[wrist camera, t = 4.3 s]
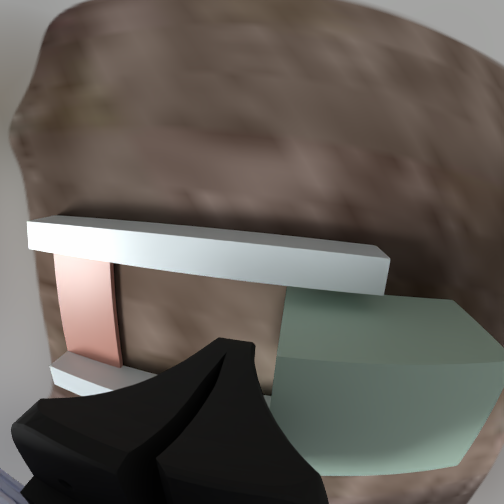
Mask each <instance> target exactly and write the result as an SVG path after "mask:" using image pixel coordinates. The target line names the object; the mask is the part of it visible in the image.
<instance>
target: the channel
mask: <svg viewBox="0 0 504 504" xmlns="http://www.w3.org/2000/svg"><path fill="white" fill-rule="evenodd" d="M27 229H28V230H27V231H28V245H29V249H33V250H38V251H44V252H50V253H54V262H55V273H56V282H57V290H58V298H59V305H60V311H61V318H62V323H63V329H64V334H65V339H66V344H67V349H68V351H67V352H66V353H65V354H63V355H62V356H61V357H59V358H58V359H57V360H56V361H54V362H53V363H52V364H51V365H49V366H50V370H51V373H52V377H53V380H54V384H56V385H58V386H60V387H62V388H64V389H67V390H69V391H71V392H74V393H76V394H78V395H81V396H88V395H95V394H100V393H105V392H110V391H113V390H117V389H120V388H124V387H127V386H131V385H134V384H137V383H140V382H142V381H145V380H147V379H150V378H152V377H154V376H157V374H153V373H149V372H145V371H142V370H138V369H134V368H131V367H127V366H124V365H123V360H122V353H121V346H120V338H119V329H118V320H117V309H116V297H115V283H114V265H113V263H118V264H124V265H131V266H138V267H145V268H151V269H158V270H165V271H173V272H180V273H187V274H195V275H202V276H210V277H217V278H225V279H233V280H241V281H249V282H258V283H266V284H275V285H283V286H292V287H301V288H310V289H320V290H329V291H339V292H349V293H359V294H370V295H381V296H384V291H385V286H386V281H387V276H388V270H389V265H390V258H389V257H388V256H387V255H386V254H385V253H384V252H383V251H382V250H380V249H379V248H378V247H377V246H376V245H367V244H359V243H350V242H342V241H333V240H324V239H315V238H306V237H297V236H287V235H278V234H268V233H258V232H248V231H238V230H228V229H218V228H207V227H196V226H185V225H174V224H163V223H151V222H139V221H127V220H115V219H102V218H88V217H75V216H61V215H54V216H50V217H45V218H40V219H36V220H31V221H28V222H27ZM263 396H264V398H265V401H266V403H267V405H268V407H269V409H270V402H271V396H267V395H263Z"/></svg>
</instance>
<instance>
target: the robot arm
mask: <svg viewBox="0 0 504 504" xmlns="http://www.w3.org/2000/svg"><path fill="white" fill-rule="evenodd" d="M254 357H255V345H254V343H253V342H246V341H239V340H233V339H226V338H217V339H216V340H214V341H213V342H211V343H210V344H208V345H207V346H206V347H204V348H203V349H201V350H200V351H198V352H197V353H195V354H194V355H192V356H191V357H189V358H188V359H186V360H185V361H183V362H181V363H179V364H178V365H176V366H174V367H172V368H170V369H169V370H167V371H165V372H163V373H161V374H159V375H157V376H154V377H152V378H150V379H147V380H145V381H142V382H140V383H137V384H134V385H131V386H127V387H124V388H120V389H117V390H113V391H110V392H105V393H100V394H95V395H88V396H82V397H72V398H51V399H40V400H39V401H38V402H36V403H35V404H34V405H33V406H32V407H31V408H30V409H29V410H28V411H26V412H25V413H24V414H23V415H22V416H21V417H20V418H19V419H18V420H17V421H16V422H14V423H13V424H12V427H11V434H12V438H13V441H14V443H15V445H16V447H17V449H18V451H19V453H20V454H21V456H22V458H23V459H24V461H25V462H26V464H27V466H28V467H29V469H30V470H31V472H32V474H33V475H34V476H33V477H32V479H31V480H30V481H29V482H28V483H27V485H26V486H23V485H22V484H21V483H19V482H18V481H17V480H15V479H14V478H12V477H11V476H10V475H9V474H7V473H6V472H5V471H3V470H2V469H1V468H0V504H329V502H328V498H327V494H326V491H325V487H324V484H323V481H322V479H321V476H320V474H319V473H318V472H317V471H316V470H315V469H314V468H313V467H312V466H311V465H310V464H309V463H308V462H307V461H306V460H305V459H304V458H303V457H302V456H301V455H300V454H299V452H298V451H297V450H296V449H295V448H294V446H293V445H292V444H291V443H290V441H289V440H288V439H287V437H286V436H285V434H284V433H283V431H282V430H281V428H280V427H279V425H278V424H277V422H276V420H275V419H274V417H273V415H272V413H271V411H270V409H269V407H268V405H267V403H266V401H265V398H264V396H263V393H262V390H261V387H260V384H259V381H258V377H257V373H256V368H255V362H254Z"/></svg>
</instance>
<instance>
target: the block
mask: <svg viewBox="0 0 504 504" xmlns="http://www.w3.org/2000/svg"><path fill="white" fill-rule="evenodd" d="M503 388H504V348H503V347H502V346H501V345H500V344H499V343H498V342H497V341H496V340H495V339H494V338H493V337H492V336H491V335H490V334H489V333H488V332H487V331H486V330H485V329H484V328H483V327H482V326H481V325H480V324H479V323H478V322H476V321H475V320H474V319H473V318H472V317H471V316H470V315H469V314H468V313H467V312H466V311H465V310H463V309H462V308H461V307H460V306H459V305H458V304H457V303H456V302H455V301H453V300H447V299H432V298H418V297H405V296H392V295H384V296H381V295H370V294H359V293H349V292H339V291H329V290H320V289H310V288H301V287H292V286H287V289H286V297H285V304H284V311H283V318H282V324H281V331H280V338H279V344H278V350H277V357H276V365H275V373H274V380H273V388H272V395H271V402H270V411H271V413H272V415H273V417H274V419H275V420H276V422H277V424H278V425H279V427H280V428H281V430H282V431H283V433H284V434H285V436H286V437H287V439H288V440H289V441H290V443H291V444H292V445H293V446H294V448H295V449H296V450H297V451H298V452H299V454H300V455H301V456H302V457H303V458H304V459H305V460H306V461H307V462H308V463H309V464H310V465H311V466H312V467H313V468H314V469H315V470H316V471H317V472H318V473H319V474H320V475H323V476H367V475H386V474H399V473H410V472H418V471H426V470H433V469H440V468H446V467H451V466H457V465H458V464H459V463H460V461H461V460H462V458H463V457H464V455H465V454H466V452H467V451H468V449H469V448H470V446H471V445H472V443H473V442H474V440H475V438H476V437H477V435H478V434H479V432H480V430H481V429H482V427H483V425H484V423H485V422H486V420H487V418H488V416H489V415H490V413H491V411H492V409H493V407H494V405H495V404H496V402H497V400H498V398H499V396H500V394H501V392H502V390H503Z"/></svg>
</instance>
